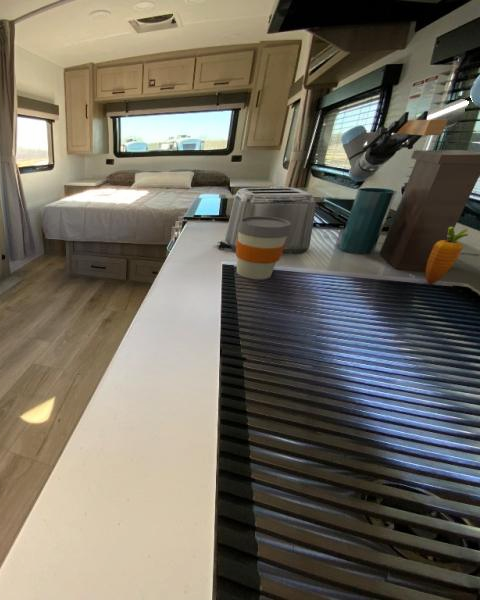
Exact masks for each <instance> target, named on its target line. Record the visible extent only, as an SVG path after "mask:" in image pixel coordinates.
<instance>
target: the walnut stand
mask: <svg viewBox="0 0 480 600" xmlns="http://www.w3.org/2000/svg"><path fill="white" fill-rule="evenodd" d="M410 159H411V160H412V159H413V160H415V162H414V166H413V168H412V170H411V173H410V174H409V178H408V180H407V182H406V185H405V188H404V190H403V193H402V195H401V198H400V200H399V202H398V206H397V207H396V211H395V213H394V216H393V217H392V221H391V223H390V224H389V225H390V226H389V228H388V231H387V233H386V236H385V238H384V241H383V243H382V246H381V248H380V251H379V255H380V256H381V257H382V258H383V259H384V260H385V261H386V262H388V263H389V265H390V266H392V268H394V269H395V270H400V271H411V272H420V273H421V272H422V273H426V266H427V262H428V259H429V256H430V254H431V251H432V249H433V247H434V245H435V244H436V243H437V242H438V241H441V240H447V239H448V238H447V236H448V229H449V227H454V228H455V227H456V225H457V224H458V221H459V219H460V218H461V216H462V213H463V211H464V209H465V207H466V204H467V203H468V201H469V199H470V196H471V194H472V193H473V190H474V189H475V187H476V184H477V182H478V180H479V178H480V151H473V150H465V149H464V150H463V149H435V150H434V149H431V150H429V149H427V150H425V149H424V150H423V149H422V150H413V152H412V154H411V157H410Z"/></svg>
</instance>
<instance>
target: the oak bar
mask: <svg viewBox="0 0 480 600" xmlns="http://www.w3.org/2000/svg"><path fill="white" fill-rule="evenodd" d="M398 120H399V119H398ZM398 120H397V119H396V120H395V121H398ZM447 121H448V119H438V120H411V119H408V121H407V122H406V123H405V124H404V125H403V126H402V127H401V128H400V129H399V130H398V131H397V132H396V133H397V134H412V135H428V136H442V135H443V133H444V131H445V130H444V128H445V126H446V124H447ZM392 133H393V132H392Z"/></svg>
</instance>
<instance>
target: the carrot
mask: <svg viewBox="0 0 480 600" xmlns="http://www.w3.org/2000/svg"><path fill="white" fill-rule="evenodd" d="M468 230H469V229H468V228H464V229H462V230H460V232H459V233H458V234H455V227H449V229H448V236H447V238H448V239H447V240H441V241H438V242H437V243H436V244H435V245H434V247H433V249H432V251H431V254H430V256H429V259H428V262H427V266H426V272H425V279H426V283H427V285H433V284H435V283H436V282H438V281H439V280H440V279H441V278H442V277H444V276H445V275H446V274H447V272H449V270H450V269H451V267H452V266H454V264H455V262H456V260H457V259H458V257H459V256H460V254H461V252H462V250H463V247H464V245H463V244H462V243H461V242H458V240H460V239H462V238H464V237H468V236H469V234H468V233H467V232H468Z"/></svg>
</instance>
